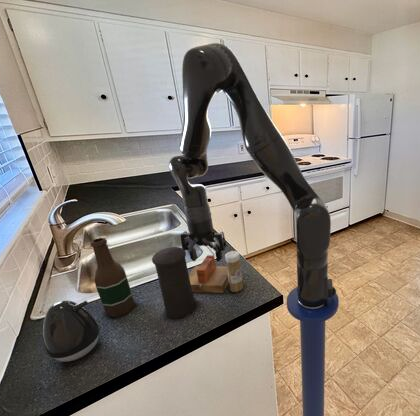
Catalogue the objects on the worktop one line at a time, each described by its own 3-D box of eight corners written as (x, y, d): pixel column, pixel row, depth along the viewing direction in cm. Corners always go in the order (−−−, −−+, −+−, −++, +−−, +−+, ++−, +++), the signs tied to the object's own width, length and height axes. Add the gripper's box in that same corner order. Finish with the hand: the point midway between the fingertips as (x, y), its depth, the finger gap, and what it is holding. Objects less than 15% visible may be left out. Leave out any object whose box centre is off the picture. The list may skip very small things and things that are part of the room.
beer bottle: (130, 315, 80) (107, 244, 71) (100, 320, 78) (73, 248, 69) (139, 298, 87) (119, 232, 78) (112, 302, 85) (88, 235, 76)
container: (199, 297, 87) (188, 243, 80) (192, 317, 79) (180, 259, 71) (170, 300, 86) (157, 245, 78) (161, 321, 77) (145, 262, 70)
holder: (206, 283, 89) (204, 269, 87) (198, 282, 89) (196, 269, 87) (216, 267, 97) (214, 255, 95) (209, 267, 97) (207, 255, 96)
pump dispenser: (96, 361, 66) (76, 312, 60) (43, 375, 62) (17, 325, 57) (110, 330, 74) (93, 285, 69) (64, 341, 71) (43, 294, 66)
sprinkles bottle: (238, 293, 88) (233, 258, 84) (226, 290, 90) (221, 256, 85) (246, 285, 92) (242, 251, 87) (234, 282, 94) (230, 249, 89)
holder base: (234, 271, 100) (233, 264, 99) (222, 295, 88) (220, 287, 87) (197, 270, 101) (196, 263, 100) (180, 294, 89) (178, 286, 87)
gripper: (171, 221, 83) (181, 266, 89) (215, 221, 82) (223, 266, 88) (183, 212, 90) (192, 254, 96) (224, 212, 89) (231, 254, 95)
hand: (207, 260), depth 92 cm, fingers open, 8 cm apart
